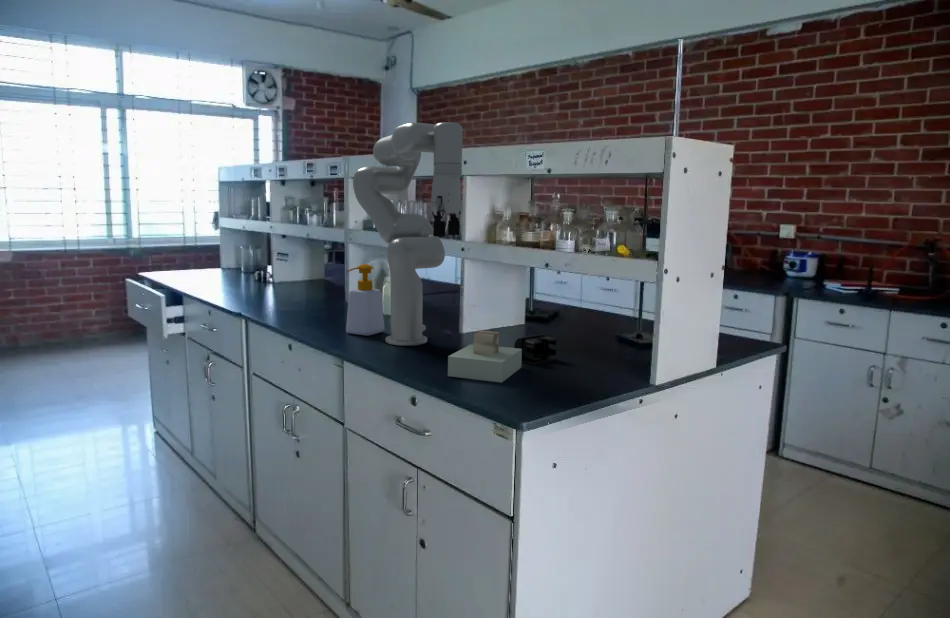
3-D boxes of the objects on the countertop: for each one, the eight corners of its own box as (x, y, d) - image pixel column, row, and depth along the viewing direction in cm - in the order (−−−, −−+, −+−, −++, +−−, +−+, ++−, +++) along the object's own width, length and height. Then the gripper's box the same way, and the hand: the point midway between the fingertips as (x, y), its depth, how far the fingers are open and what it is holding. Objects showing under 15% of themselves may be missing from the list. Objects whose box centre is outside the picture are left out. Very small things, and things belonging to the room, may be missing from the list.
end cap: (539, 355, 190) (540, 331, 189) (557, 360, 185) (558, 336, 183) (513, 360, 184) (513, 335, 183) (531, 365, 178) (532, 340, 177)
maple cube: (480, 349, 173) (480, 330, 172) (498, 351, 171) (498, 332, 170) (473, 353, 168) (473, 334, 167) (492, 355, 166) (492, 335, 165)
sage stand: (471, 361, 180) (471, 343, 179) (521, 367, 175) (521, 348, 174) (447, 376, 165) (448, 356, 164) (501, 382, 160) (502, 362, 160)
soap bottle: (335, 336, 209) (334, 265, 206) (362, 329, 222) (362, 262, 218) (359, 339, 205) (359, 267, 201) (386, 332, 217) (386, 263, 214)
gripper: (447, 172, 187) (446, 233, 190) (420, 169, 171) (420, 236, 174) (472, 172, 184) (471, 234, 187) (447, 169, 168) (446, 237, 171)
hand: (446, 235), depth 181 cm, fingers open, 9 cm apart
